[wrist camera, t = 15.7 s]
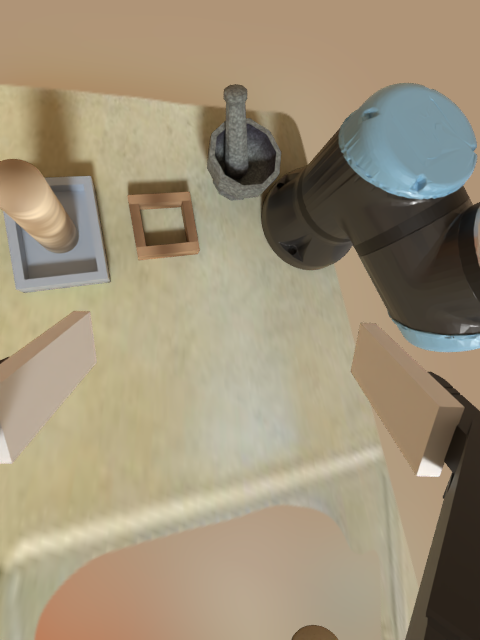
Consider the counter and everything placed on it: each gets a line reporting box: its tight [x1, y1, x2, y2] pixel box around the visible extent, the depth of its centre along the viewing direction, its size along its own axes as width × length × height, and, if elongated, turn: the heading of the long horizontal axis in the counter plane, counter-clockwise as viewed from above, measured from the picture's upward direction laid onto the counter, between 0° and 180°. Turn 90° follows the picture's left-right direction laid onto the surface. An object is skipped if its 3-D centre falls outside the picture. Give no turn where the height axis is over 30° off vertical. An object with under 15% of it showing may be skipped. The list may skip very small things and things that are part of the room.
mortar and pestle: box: [207, 84, 281, 200], centre depth 42 cm, size 11×9×12 cm
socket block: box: [127, 192, 200, 260], centre depth 43 cm, size 8×8×2 cm
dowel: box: [0, 159, 79, 253], centre depth 34 cm, size 5×5×13 cm
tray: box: [3, 176, 110, 293], centre depth 40 cm, size 10×13×2 cm
